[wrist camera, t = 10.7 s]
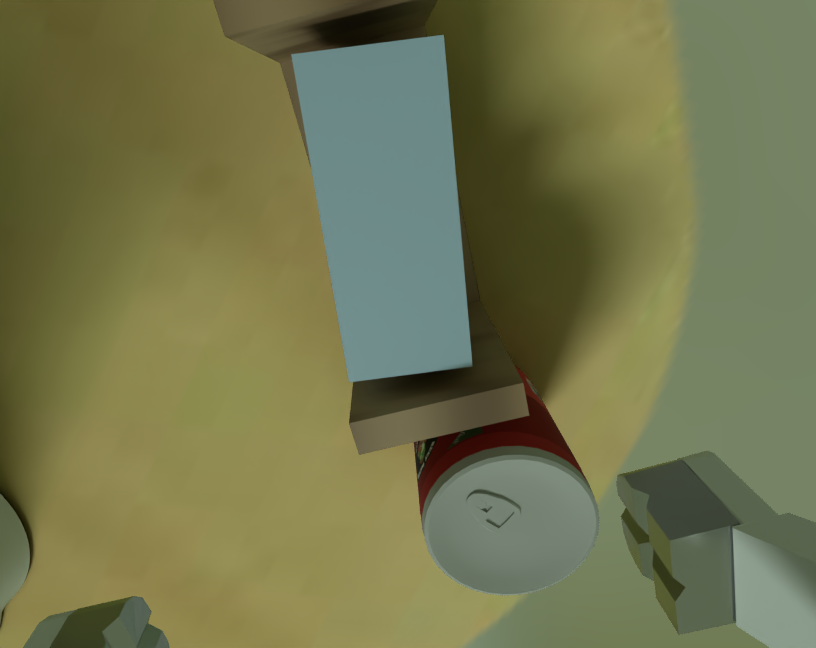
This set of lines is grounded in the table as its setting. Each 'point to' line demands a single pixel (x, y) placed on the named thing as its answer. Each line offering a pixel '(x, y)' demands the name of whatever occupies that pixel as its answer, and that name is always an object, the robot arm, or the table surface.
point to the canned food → (506, 503)
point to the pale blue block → (388, 203)
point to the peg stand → (491, 364)
